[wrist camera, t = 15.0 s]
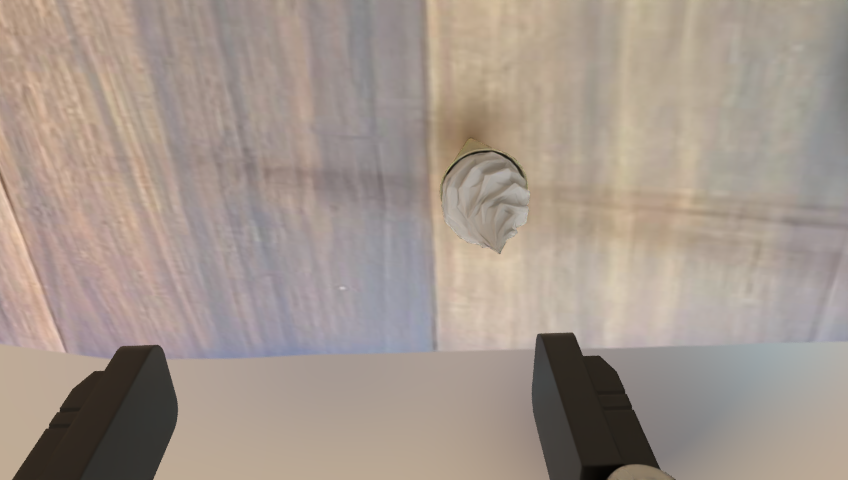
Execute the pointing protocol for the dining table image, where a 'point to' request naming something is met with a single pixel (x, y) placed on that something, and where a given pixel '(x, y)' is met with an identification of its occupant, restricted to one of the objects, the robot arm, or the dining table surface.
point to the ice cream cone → (484, 195)
